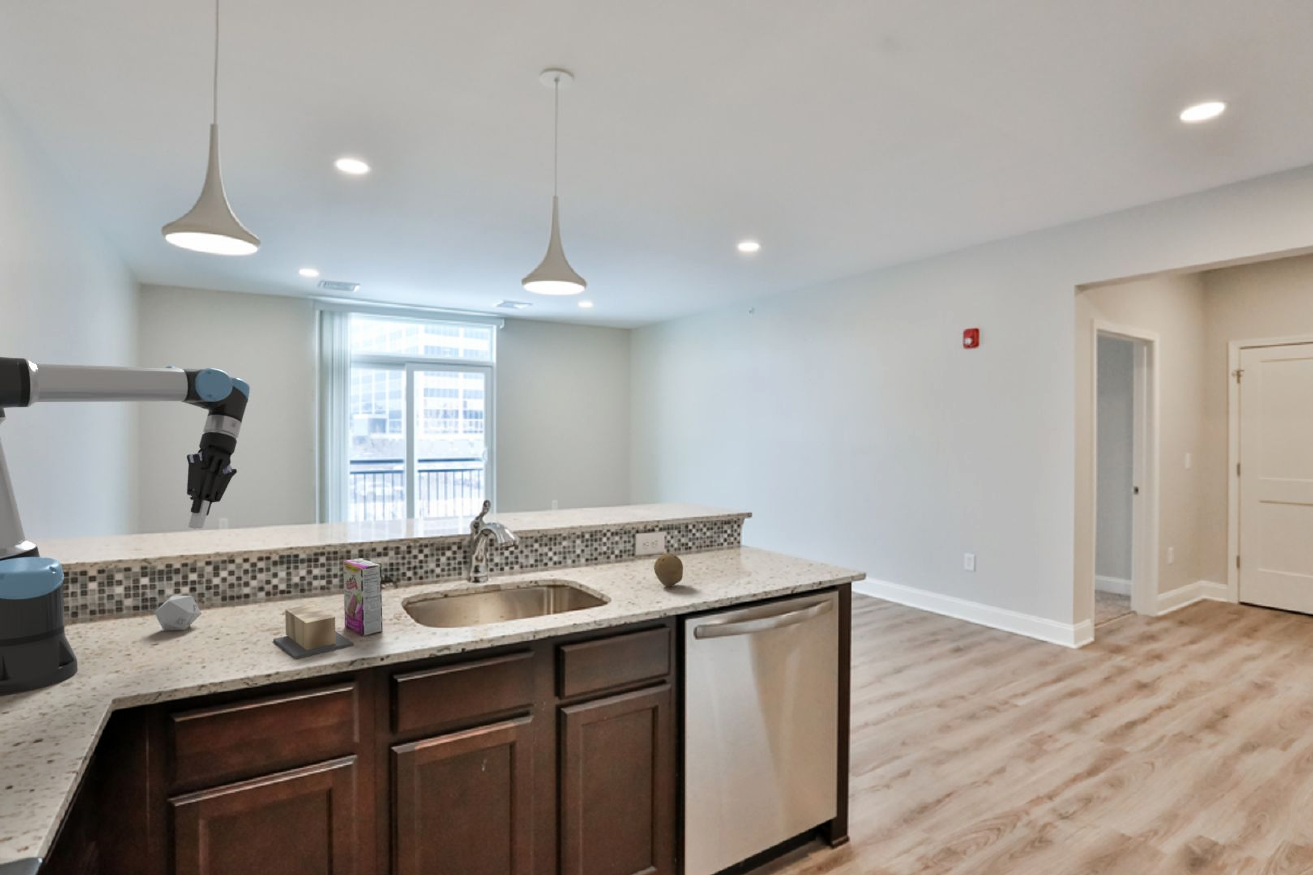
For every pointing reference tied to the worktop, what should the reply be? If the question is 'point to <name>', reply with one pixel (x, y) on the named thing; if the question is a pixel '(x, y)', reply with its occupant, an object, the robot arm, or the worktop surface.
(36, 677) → the robot arm
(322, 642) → the wooden block
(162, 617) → the die
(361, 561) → the candy bar box
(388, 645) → the worktop surface
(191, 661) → the worktop surface
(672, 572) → the brown oval lump
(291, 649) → the mat
